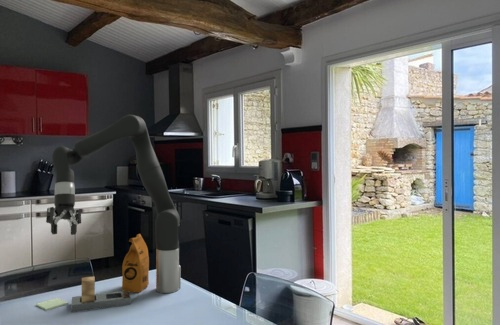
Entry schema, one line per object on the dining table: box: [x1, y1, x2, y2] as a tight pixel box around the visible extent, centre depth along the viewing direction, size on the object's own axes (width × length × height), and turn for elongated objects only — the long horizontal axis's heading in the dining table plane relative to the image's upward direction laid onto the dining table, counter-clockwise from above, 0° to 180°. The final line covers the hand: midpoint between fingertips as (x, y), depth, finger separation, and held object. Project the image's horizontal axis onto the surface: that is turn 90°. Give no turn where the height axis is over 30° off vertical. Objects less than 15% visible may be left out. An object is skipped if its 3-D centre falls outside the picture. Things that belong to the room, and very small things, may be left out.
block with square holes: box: [70, 290, 131, 313], centre depth 143 cm, size 20×9×2 cm, turn 113°
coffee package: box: [121, 233, 150, 294], centre depth 162 cm, size 10×12×22 cm
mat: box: [35, 297, 69, 311], centre depth 142 cm, size 8×8×1 cm
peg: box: [81, 276, 96, 302], centre depth 142 cm, size 4×4×10 cm
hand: (64, 234), depth 153 cm, fingers open, 8 cm apart
